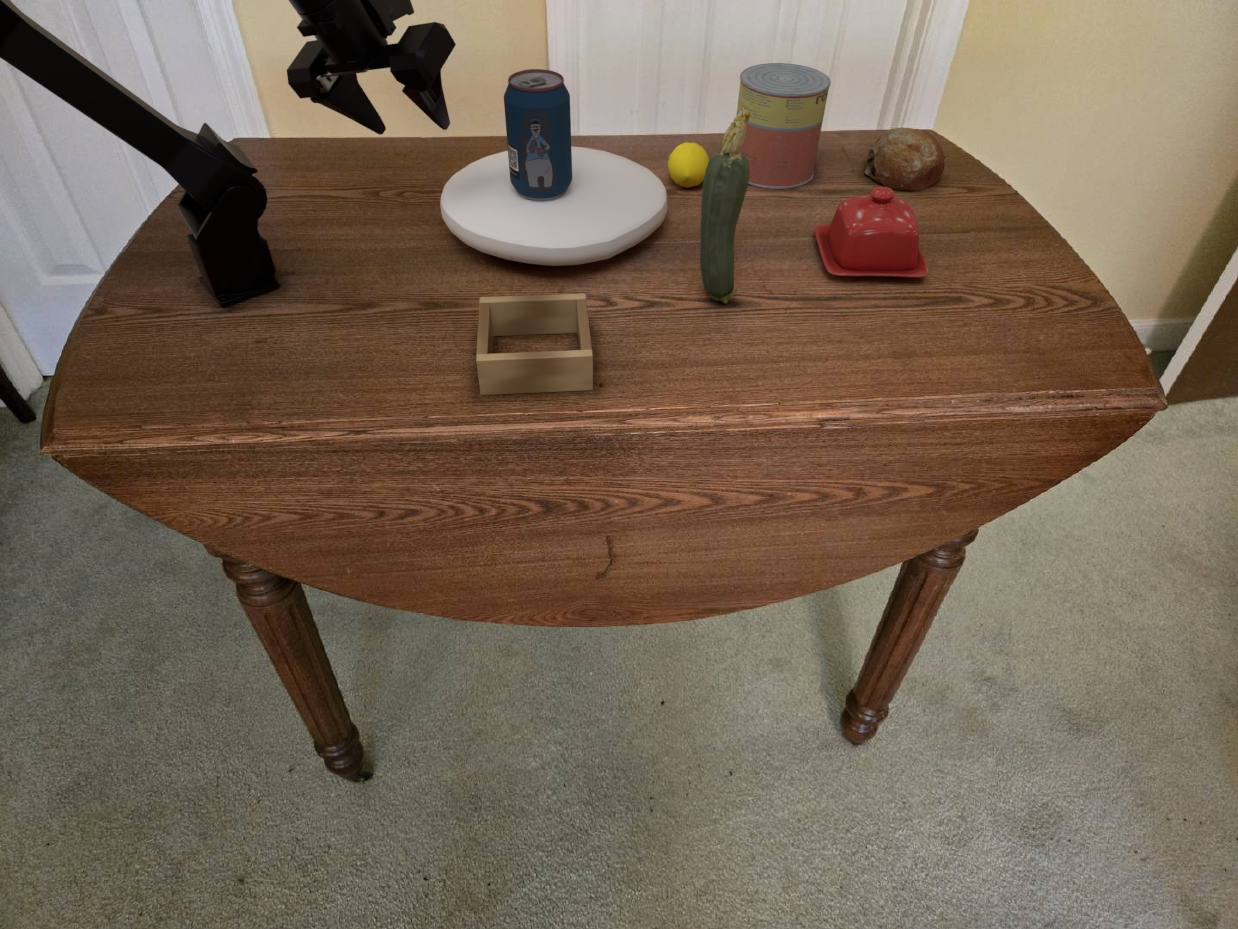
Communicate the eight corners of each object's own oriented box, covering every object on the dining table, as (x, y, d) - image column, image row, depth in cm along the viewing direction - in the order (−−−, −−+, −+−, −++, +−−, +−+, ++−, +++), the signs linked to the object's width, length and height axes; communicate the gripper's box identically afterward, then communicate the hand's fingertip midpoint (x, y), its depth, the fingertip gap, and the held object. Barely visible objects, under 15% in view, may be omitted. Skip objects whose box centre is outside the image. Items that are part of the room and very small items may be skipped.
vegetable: (700, 313, 86) (719, 120, 72) (686, 292, 89) (702, 102, 75) (739, 307, 86) (765, 115, 73) (725, 286, 89) (747, 98, 76)
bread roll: (856, 187, 116) (845, 139, 110) (922, 149, 115) (914, 98, 109) (893, 219, 109) (884, 169, 103) (963, 179, 108) (957, 126, 102)
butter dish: (824, 284, 90) (840, 212, 84) (810, 233, 98) (823, 164, 93) (929, 287, 90) (952, 215, 84) (905, 236, 98) (925, 167, 92)
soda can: (552, 171, 96) (547, 62, 88) (584, 193, 92) (582, 82, 83) (500, 185, 93) (490, 74, 85) (530, 209, 89) (523, 95, 81)
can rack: (480, 395, 75) (475, 360, 72) (483, 331, 83) (479, 296, 80) (593, 390, 76) (592, 355, 73) (586, 326, 83) (585, 293, 81)
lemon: (707, 197, 105) (711, 156, 101) (665, 195, 105) (667, 154, 101) (707, 174, 110) (711, 133, 106) (667, 171, 110) (670, 131, 106)
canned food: (826, 184, 108) (845, 90, 100) (746, 192, 106) (758, 97, 98) (794, 150, 116) (809, 60, 108) (718, 156, 114) (728, 65, 106)
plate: (484, 128, 108) (684, 149, 104) (487, 178, 112) (679, 199, 108) (398, 201, 86) (647, 231, 82) (405, 260, 90) (643, 290, 86)
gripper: (434, -77, 75) (512, 70, 87) (294, -46, 84) (383, 84, 96) (380, 3, 71) (470, 145, 83) (239, 27, 80) (340, 153, 92)
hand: (414, 129), depth 89 cm, fingers open, 9 cm apart
